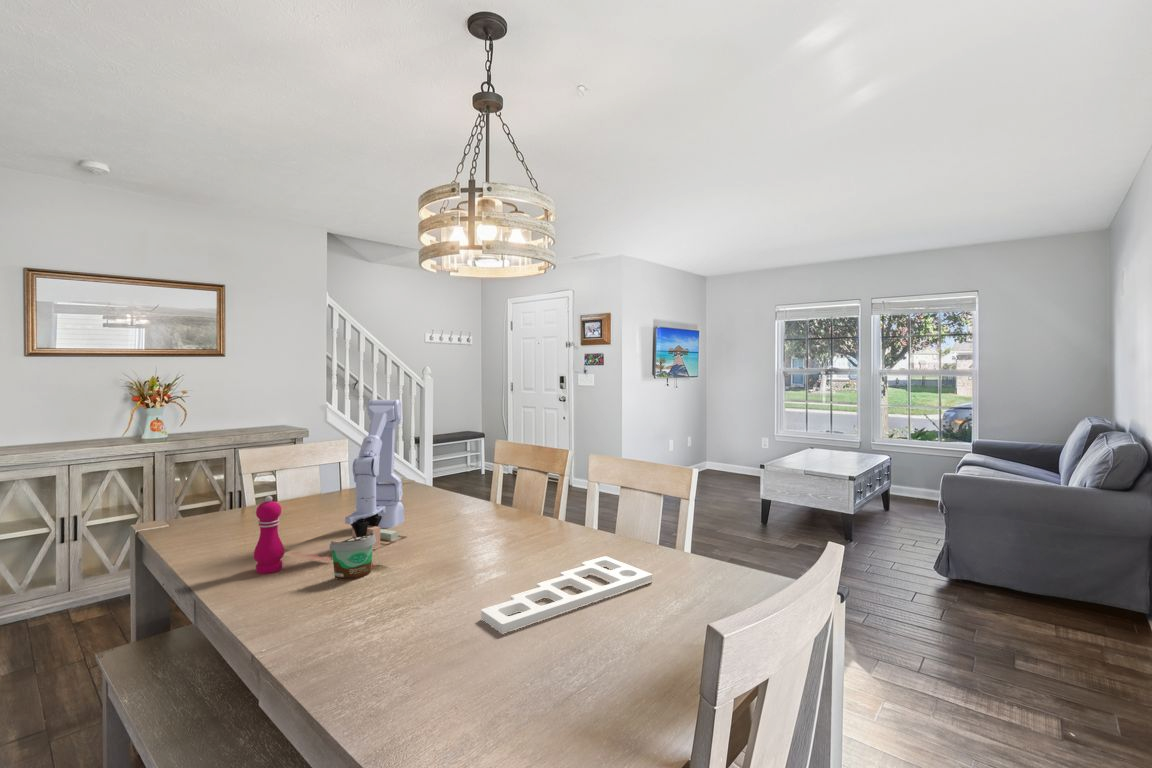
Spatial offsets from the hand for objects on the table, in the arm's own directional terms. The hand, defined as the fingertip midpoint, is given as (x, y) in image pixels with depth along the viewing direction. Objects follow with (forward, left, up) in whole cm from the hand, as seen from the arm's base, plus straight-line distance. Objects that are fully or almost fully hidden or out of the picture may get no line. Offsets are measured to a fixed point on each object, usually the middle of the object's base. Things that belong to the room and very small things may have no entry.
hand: (366, 541), depth 167 cm
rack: (-4, 0, -2) cm, 5 cm away
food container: (+17, +13, -3) cm, 22 cm away
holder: (+7, +67, -3) cm, 67 cm away
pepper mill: (+23, -12, -3) cm, 26 cm away
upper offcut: (-8, 0, -1) cm, 8 cm away
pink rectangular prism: (0, 0, -2) cm, 2 cm away
